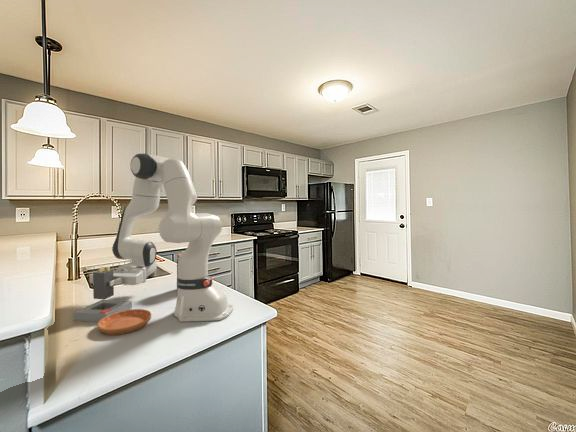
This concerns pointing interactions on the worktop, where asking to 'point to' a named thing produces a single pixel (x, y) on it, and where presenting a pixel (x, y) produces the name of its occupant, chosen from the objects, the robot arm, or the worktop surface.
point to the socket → (101, 310)
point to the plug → (102, 283)
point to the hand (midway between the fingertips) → (101, 283)
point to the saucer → (124, 321)
